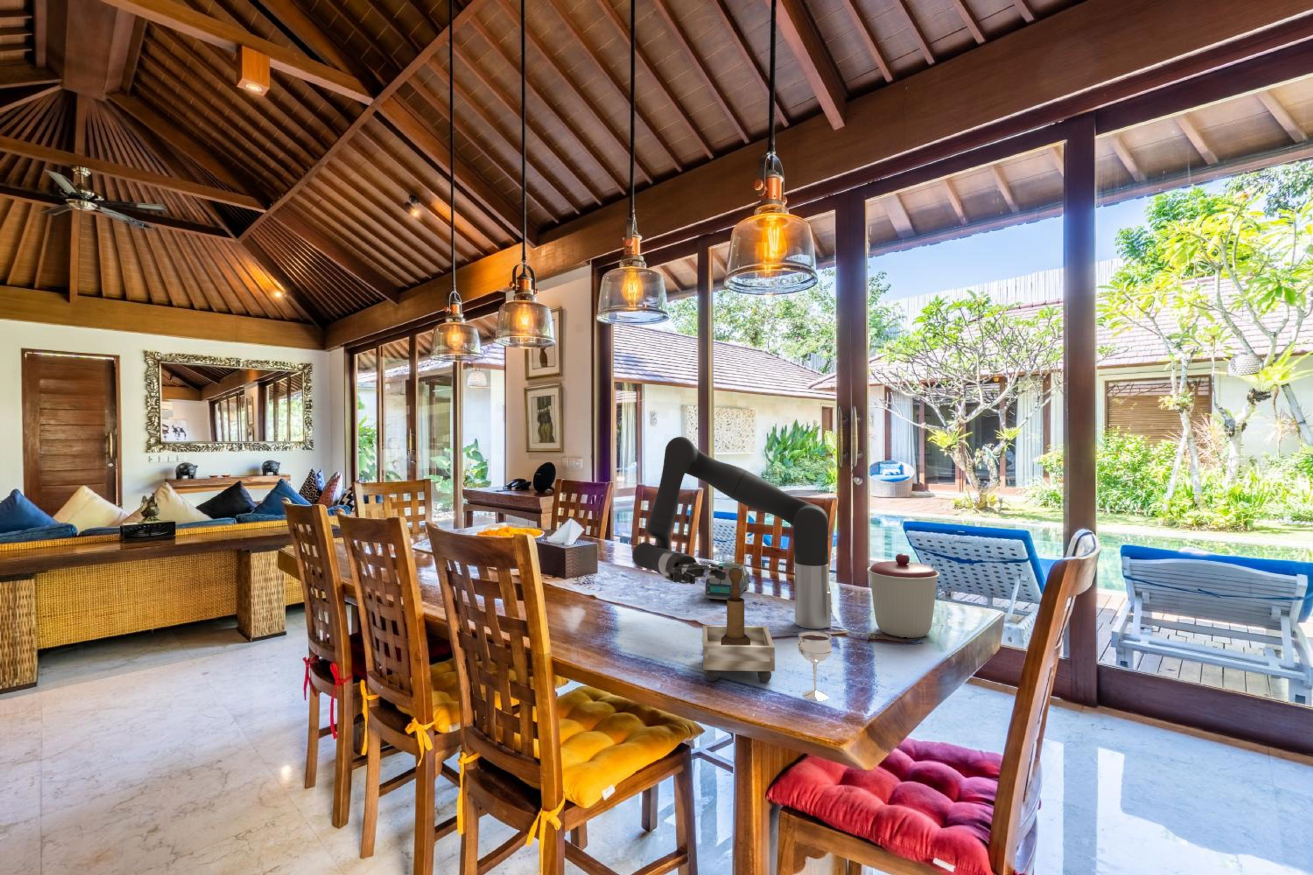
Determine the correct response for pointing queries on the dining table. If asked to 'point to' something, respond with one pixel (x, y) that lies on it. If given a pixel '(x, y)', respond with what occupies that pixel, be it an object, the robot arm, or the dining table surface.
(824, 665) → the dining table surface
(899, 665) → the dining table surface
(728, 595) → the toy van
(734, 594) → the mortar and pestle
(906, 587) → the canister
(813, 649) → the wineglass
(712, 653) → the cart
